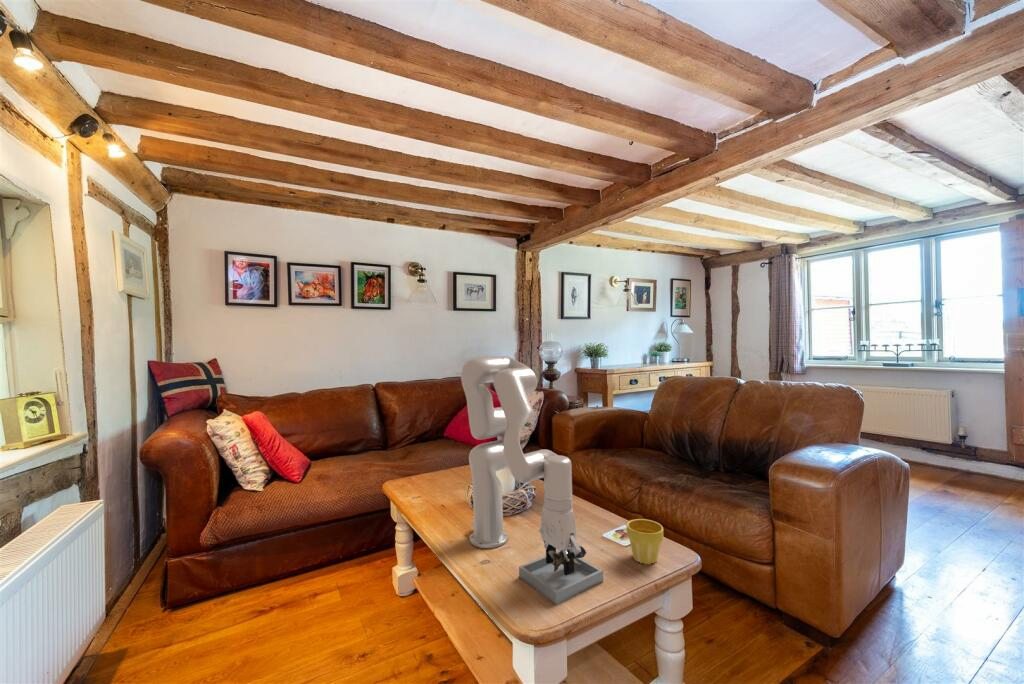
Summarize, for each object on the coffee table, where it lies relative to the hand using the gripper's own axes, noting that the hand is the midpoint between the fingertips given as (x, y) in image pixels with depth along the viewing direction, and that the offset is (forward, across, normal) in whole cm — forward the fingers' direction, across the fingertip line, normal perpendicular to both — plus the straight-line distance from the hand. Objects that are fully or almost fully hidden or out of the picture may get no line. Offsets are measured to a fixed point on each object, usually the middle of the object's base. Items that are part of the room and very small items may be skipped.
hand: (559, 567), depth 119 cm
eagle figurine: (+1, 0, +2) cm, 3 cm away
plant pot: (+3, +7, +27) cm, 28 cm away
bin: (+3, 0, 0) cm, 3 cm away
